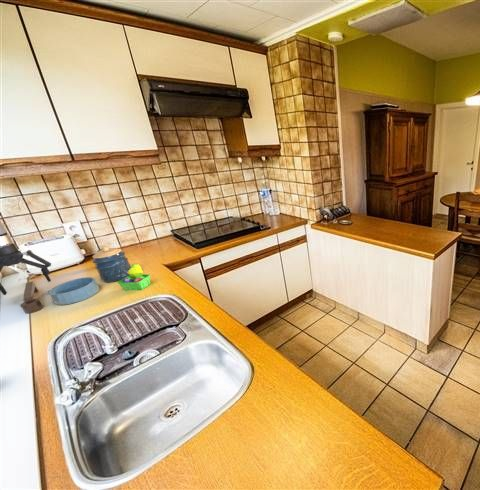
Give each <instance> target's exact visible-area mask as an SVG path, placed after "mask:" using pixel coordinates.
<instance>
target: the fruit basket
mask: <svg viewBox="0 0 480 490" xmlns="http://www.w3.org/2000/svg"><path fill="white" fill-rule="evenodd" d="M130 266H131V268H130V269H129V271H128V274H129V275H130V276H127V277H126V278H124V279H121V280H118V281H116V284H118V285H119V286H120V287H121V288H122V289H124V291H142V290H144V289H145V288H147V287H149V286H150V285H151V274H150V273H149V274H147V273H146V274H143V269H142V267H141V265H139V264H138V263H133V264H131V265H130Z"/></svg>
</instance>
